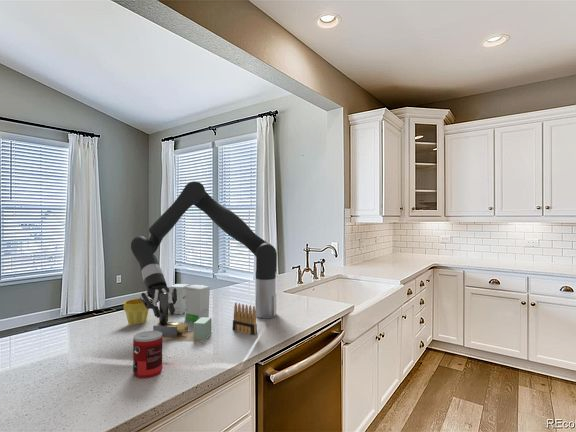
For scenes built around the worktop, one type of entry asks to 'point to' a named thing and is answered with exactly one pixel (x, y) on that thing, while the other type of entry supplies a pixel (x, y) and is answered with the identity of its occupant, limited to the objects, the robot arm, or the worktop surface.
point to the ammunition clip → (245, 319)
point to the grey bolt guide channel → (167, 330)
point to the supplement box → (179, 298)
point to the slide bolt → (164, 314)
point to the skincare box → (196, 302)
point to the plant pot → (135, 311)
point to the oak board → (184, 337)
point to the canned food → (147, 354)
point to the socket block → (202, 328)
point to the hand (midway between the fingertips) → (165, 314)
